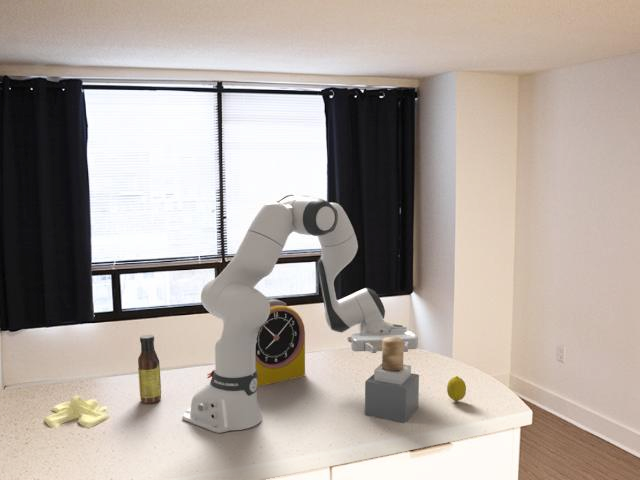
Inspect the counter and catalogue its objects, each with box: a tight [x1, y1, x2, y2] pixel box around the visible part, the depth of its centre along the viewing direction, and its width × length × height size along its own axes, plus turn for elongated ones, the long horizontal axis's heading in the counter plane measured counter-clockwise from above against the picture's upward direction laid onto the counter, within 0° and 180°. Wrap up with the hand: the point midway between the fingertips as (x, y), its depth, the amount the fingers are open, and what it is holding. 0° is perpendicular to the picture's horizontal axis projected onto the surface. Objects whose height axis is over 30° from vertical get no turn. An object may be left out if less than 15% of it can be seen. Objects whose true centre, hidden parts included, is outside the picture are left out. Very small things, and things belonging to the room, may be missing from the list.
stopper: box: [381, 337, 405, 372], centre depth 176 cm, size 6×6×11 cm
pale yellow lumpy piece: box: [43, 394, 112, 429], centre depth 177 cm, size 22×19×6 cm
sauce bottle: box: [137, 334, 162, 404], centre depth 184 cm, size 6×6×20 cm
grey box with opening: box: [364, 363, 420, 424], centre depth 177 cm, size 12×12×13 cm
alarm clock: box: [256, 298, 306, 387], centre depth 203 cm, size 21×9×26 cm, turn 123°
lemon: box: [446, 375, 467, 403], centre depth 185 cm, size 6×6×8 cm
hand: (390, 349), depth 179 cm, fingers open, 8 cm apart
